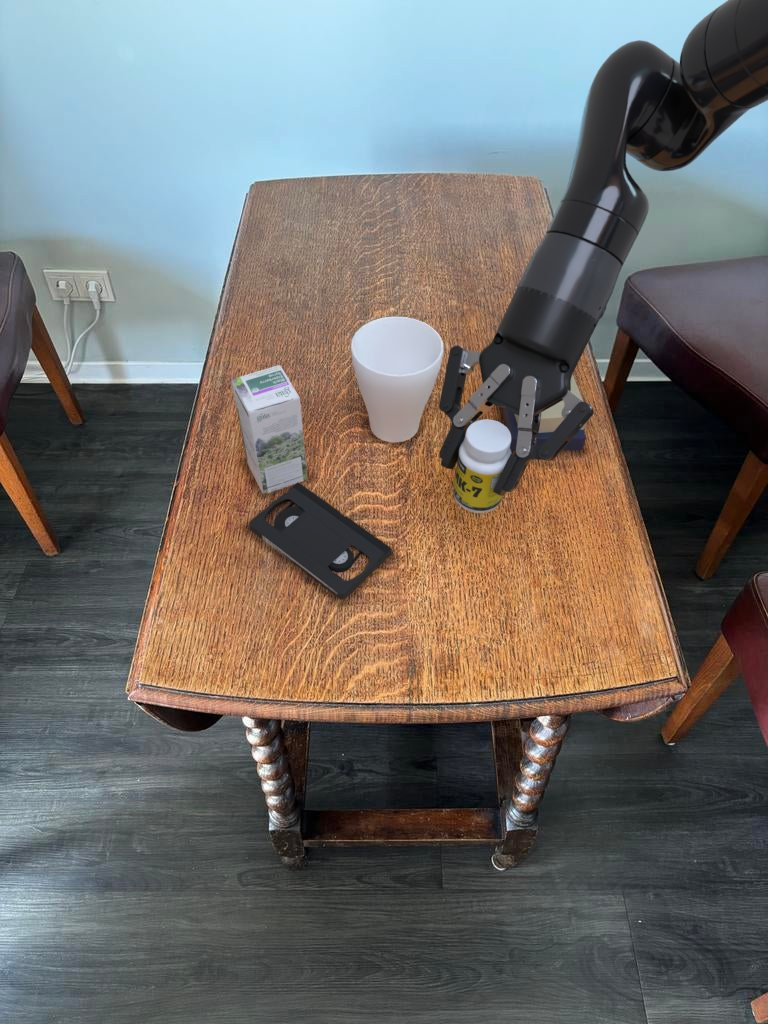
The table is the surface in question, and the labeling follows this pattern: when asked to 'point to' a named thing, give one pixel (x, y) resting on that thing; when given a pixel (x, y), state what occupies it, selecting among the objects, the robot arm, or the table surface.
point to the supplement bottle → (481, 465)
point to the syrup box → (271, 428)
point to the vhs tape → (319, 540)
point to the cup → (396, 373)
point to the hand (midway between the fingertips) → (472, 479)
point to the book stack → (547, 424)
